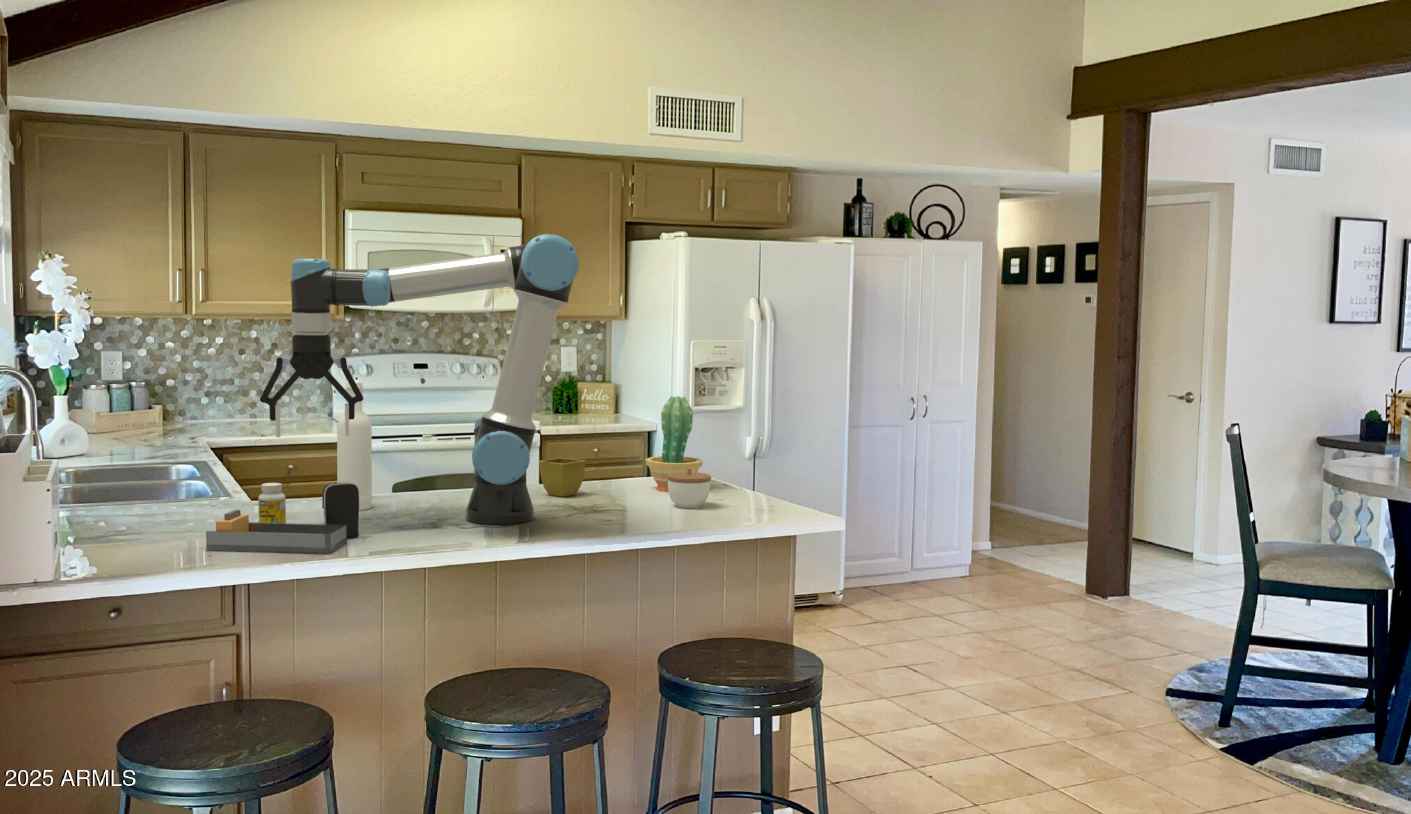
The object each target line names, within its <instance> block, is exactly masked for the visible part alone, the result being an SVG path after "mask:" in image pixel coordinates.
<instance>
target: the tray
mask: <svg viewBox="0 0 1411 814" xmlns="http://www.w3.org/2000/svg"><path fill="white" fill-rule="evenodd" d="M347 540H348V538H347V525H329V524H325V523H324V524H323V523H292V522H291V523H290V522H286V523H259V521H258V522H251V521H249V532H234V531H216V530H206V531H205V543H206V544H205V548H206V549H205V550H206V551H214V552H215V551H217V552H218V551H220V552H221V551H222V552H252V553H253V552H254V553H257V552H258V553H282V554H283V553H285V554H287V553H288V554H292V553H293V554H316V555H317V554H321V555H322V554H325V555H329V554H331V553H333V552H335V551H336V550H338V549H340V548H341V547H343V546H344V545H346V544H347V543H348V541H347Z"/></svg>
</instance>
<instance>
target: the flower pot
mask: <svg viewBox="0 0 1411 814" xmlns="http://www.w3.org/2000/svg"><path fill="white" fill-rule="evenodd" d="M538 465H539V466H538V467H539V472H540V479H541V482H542V485H543V488H544V489H545V491H546V493H547V494H548V495H550V496H554V497H555V496H557V497H562V498H564V497H568V496H574V495H576V494H577V493H578V491H579V490H580V488H581V486H582V485H583V481H584V476H585V468H586V460H582V459H576V458H573V459H572V458H566V457H557V458H556V457H555V458H551V459H550V458H549V459H544V460H543V459H542V460H538Z"/></svg>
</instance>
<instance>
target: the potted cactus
mask: <svg viewBox="0 0 1411 814" xmlns="http://www.w3.org/2000/svg"><path fill="white" fill-rule="evenodd" d="M660 417H661V419H660V420H661V422H660V423H661V424H660V425H661V430H662V435H663V438H662V439H663V440H662V450H661V455H660V456H653V457H651V456H650V457H648V458H645V465H646V466H647V467H648V468H649V470H650V474H651V477H652V478H653V480H654V482H655V483H656V484H657V486H656V490H658V491H659V492H660V491H661V492H665V493H666V492H668V479H667V475H668V474H670V473H676V472H687V469H688V468H691V472H697V473H699V469H700V468H702V466H703V462H704V460H702V459H701V458H698V457H697V458H696V457H691V456H685V451H686V447H687V443H688V438H689V436H690V433H691V431H692V428H693V418H694V411H693V408H692V407H691V406H690V404H689V402H688V400H687V399H686V396H682V397H680V396H675V397H674V396H672V395H671V396H670V397H669V398H668V400H667V401H666V402H665V404H664V405H663V407H662V410H661V412H660ZM668 493H669V492H668Z"/></svg>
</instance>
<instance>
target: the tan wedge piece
mask: <svg viewBox="0 0 1411 814" xmlns="http://www.w3.org/2000/svg"><path fill="white" fill-rule="evenodd" d="M223 516H224V517H223V518H220V519H219V520H216V521H215V531H234V532H249V522H250V520H249V516H250V514H247V513H246V514H245V513H243V514H242V513H241V509H233V510H231V511H228V512H226V513H224V515H223Z"/></svg>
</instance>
